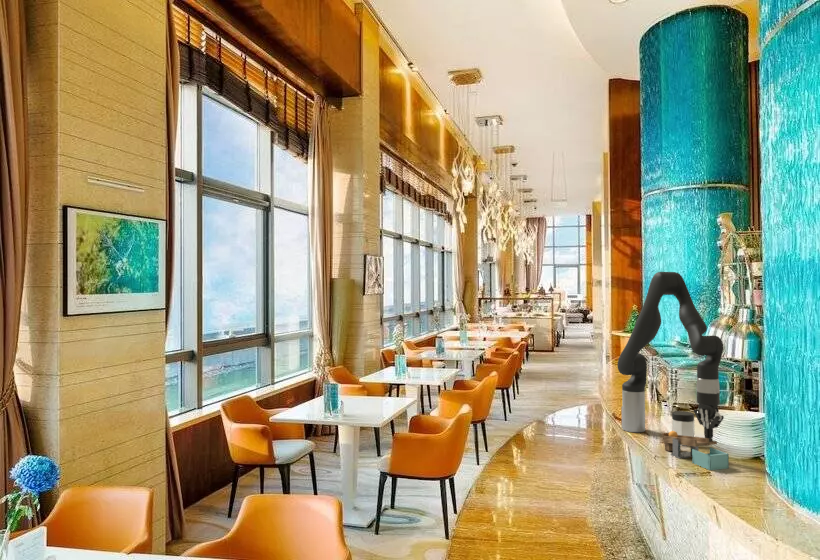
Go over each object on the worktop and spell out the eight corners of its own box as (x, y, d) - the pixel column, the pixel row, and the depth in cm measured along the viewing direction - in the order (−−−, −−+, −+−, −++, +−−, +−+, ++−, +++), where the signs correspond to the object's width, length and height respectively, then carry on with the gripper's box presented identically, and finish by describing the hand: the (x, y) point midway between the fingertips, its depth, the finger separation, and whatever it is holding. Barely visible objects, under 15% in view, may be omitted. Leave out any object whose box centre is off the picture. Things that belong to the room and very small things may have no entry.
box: (692, 463, 219) (692, 449, 219) (710, 461, 221) (710, 447, 221) (709, 470, 211) (709, 455, 211) (728, 468, 213) (728, 453, 213)
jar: (690, 440, 250) (689, 410, 250) (699, 445, 242) (698, 415, 241) (667, 440, 250) (667, 411, 250) (676, 446, 242) (676, 415, 242)
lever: (664, 450, 236) (662, 433, 237) (686, 448, 238) (684, 431, 239) (696, 455, 218) (694, 436, 219) (720, 452, 221) (717, 434, 222)
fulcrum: (670, 455, 230) (670, 437, 230) (691, 452, 232) (691, 435, 232) (679, 458, 225) (679, 441, 225) (700, 456, 227) (700, 439, 227)
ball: (668, 440, 235) (665, 432, 237) (675, 439, 236) (672, 431, 237) (673, 438, 232) (670, 430, 234) (680, 438, 233) (678, 429, 235)
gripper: (686, 388, 229) (687, 434, 229) (712, 394, 216) (713, 443, 216) (703, 387, 231) (704, 433, 231) (730, 393, 218) (731, 442, 218)
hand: (708, 438), depth 224 cm, fingers closed
